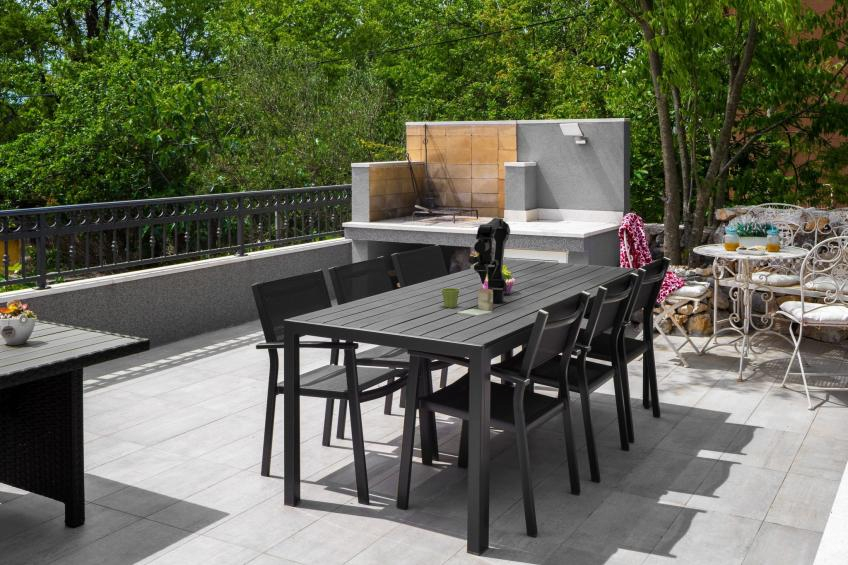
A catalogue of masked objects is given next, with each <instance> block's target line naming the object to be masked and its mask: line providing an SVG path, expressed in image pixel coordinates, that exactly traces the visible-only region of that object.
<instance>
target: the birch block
mask: <svg viewBox="0 0 848 565" xmlns="http://www.w3.org/2000/svg"><path fill="white" fill-rule="evenodd" d="M477 294H478V300H477V301H478V303H477V305H478V306H477V307H478V308H477V309H478V310H485V311H494V307H493V306H494V303H493V290H491V289H488V288H481V289H478V292H477Z"/></svg>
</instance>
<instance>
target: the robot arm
mask: <svg viewBox="0 0 848 565" xmlns="http://www.w3.org/2000/svg"><path fill="white" fill-rule="evenodd" d="M510 235H511V228H510V226H509V224H508V223H507V222H506V221H505V220H504V219H503V218H501V217H494V218H492V219H491V220H490V221H489V222H487V223H483V224H479V226H478V228H477V231H476V236H475V239H476V240H477V242H475V243H474V246H473V249H474V251H475V252H476V253H478V255H477V256H474V255H470V256H469V257H468V263H470V266H472V265H473V270H474V272H476V273H478V275H479V276H478V277H479V279H480V282H481V284H482V285H484V284H485V283H486V279H487V287H488V288H487V289H491V290H493V304H504V303H506V302H507V301H506V300H505V299H504V292H507V291H508V284H507V281H506V279H505V277H506V276H505V274H504V272H503V265H504V257H505V256H504V254H505V248H506V247H505V245H506V242H507V241H508V240H509V237H510ZM493 240H494V242H495V247H494V252H493ZM493 255H494V257H493Z"/></svg>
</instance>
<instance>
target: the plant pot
mask: <svg viewBox="0 0 848 565" xmlns="http://www.w3.org/2000/svg"><path fill="white" fill-rule="evenodd" d="M440 291H441V294H442V299H443V304H444V305H443V306H444V308H449V309H451V308H457V307H458V299H459V294H460V291H461V289H460V288H457V287H456V288H454V287H453V288H452V287H451V288H450V287H448V288H447V287H446V288H445V287H444V288H441V289H440Z"/></svg>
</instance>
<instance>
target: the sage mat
mask: <svg viewBox="0 0 848 565" xmlns="http://www.w3.org/2000/svg"><path fill="white" fill-rule="evenodd" d="M456 313H457V314H462V315H468V316H475V317H478V316H483V315H484V316H485V315H488V314H491V313H493V310H491V311H485V310H478V308H469V309H464V310H461V311H460V310H459V311H456Z"/></svg>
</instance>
